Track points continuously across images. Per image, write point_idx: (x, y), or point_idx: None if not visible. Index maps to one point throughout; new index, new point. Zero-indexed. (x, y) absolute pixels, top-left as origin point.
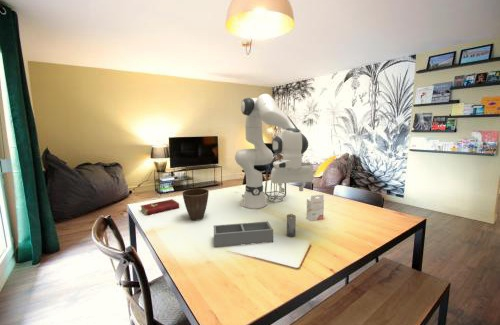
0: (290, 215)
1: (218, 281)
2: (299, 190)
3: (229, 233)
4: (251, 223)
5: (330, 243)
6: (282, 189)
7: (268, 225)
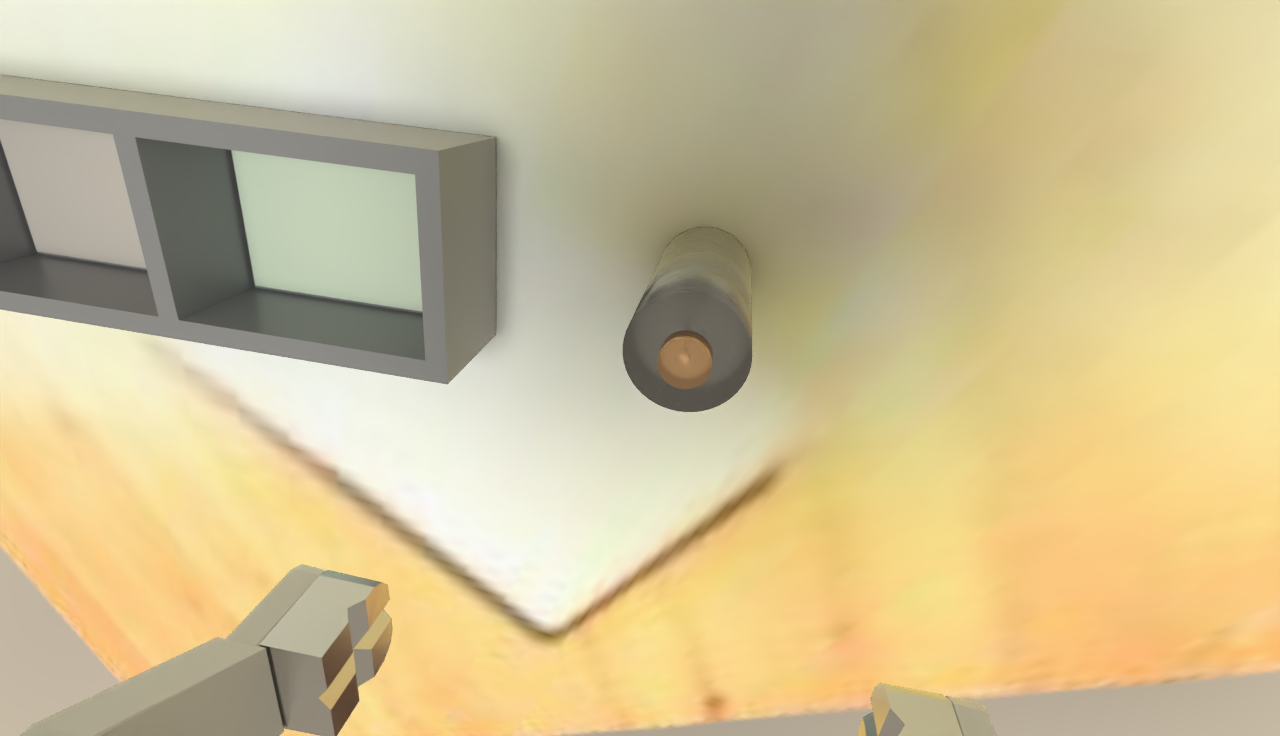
0: (664, 373)
1: (158, 577)
2: (875, 703)
3: (49, 315)
4: (236, 150)
5: (949, 512)
6: (288, 709)
7: (422, 273)
